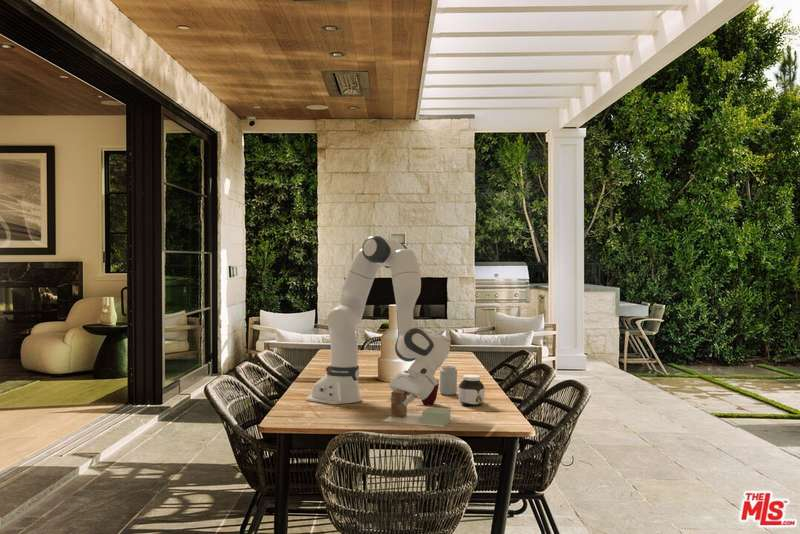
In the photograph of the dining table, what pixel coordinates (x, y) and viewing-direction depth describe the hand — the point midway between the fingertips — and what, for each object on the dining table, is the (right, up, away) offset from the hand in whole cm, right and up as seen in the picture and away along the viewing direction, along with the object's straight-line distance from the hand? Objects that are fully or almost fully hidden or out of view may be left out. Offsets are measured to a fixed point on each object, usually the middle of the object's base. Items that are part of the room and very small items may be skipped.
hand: (397, 403), depth 247 cm
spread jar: (+30, -6, +29) cm, 42 cm away
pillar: (0, -5, 0) cm, 5 cm away
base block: (+14, -5, -7) cm, 16 cm away
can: (+22, -6, +49) cm, 54 cm away
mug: (+11, -6, +27) cm, 30 cm away
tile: (+7, -6, -4) cm, 10 cm away
